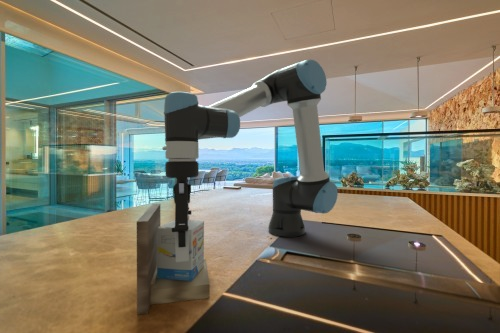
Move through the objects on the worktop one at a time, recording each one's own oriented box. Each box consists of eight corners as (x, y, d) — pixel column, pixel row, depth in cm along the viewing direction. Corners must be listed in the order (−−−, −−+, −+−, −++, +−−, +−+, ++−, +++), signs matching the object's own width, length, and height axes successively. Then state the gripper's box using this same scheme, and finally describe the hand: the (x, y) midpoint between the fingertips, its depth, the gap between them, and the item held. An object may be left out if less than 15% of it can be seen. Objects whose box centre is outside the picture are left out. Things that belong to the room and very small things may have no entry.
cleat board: (205, 265, 71) (205, 202, 70) (210, 305, 51) (210, 218, 51) (152, 270, 68) (152, 203, 67) (137, 314, 48) (136, 221, 48)
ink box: (191, 282, 55) (191, 229, 55) (156, 278, 56) (156, 227, 56) (205, 265, 64) (205, 219, 63) (173, 263, 65) (173, 218, 65)
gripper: (169, 160, 70) (171, 234, 71) (158, 161, 46) (160, 274, 47) (197, 159, 72) (198, 233, 73) (200, 160, 48) (201, 270, 48)
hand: (183, 249), depth 60 cm, fingers open, 13 cm apart
